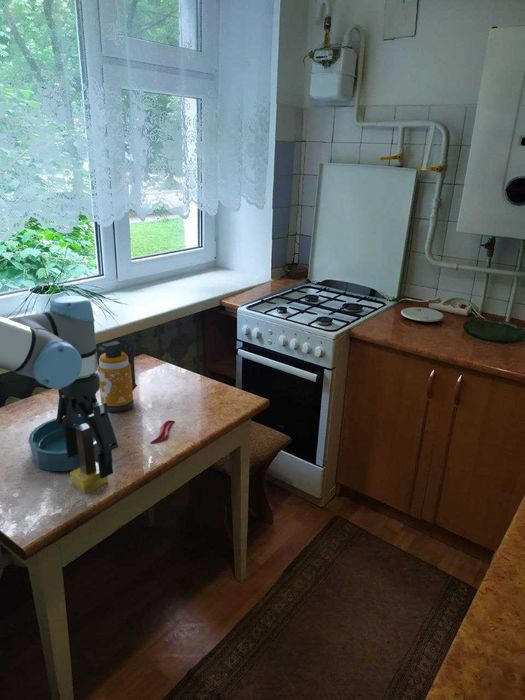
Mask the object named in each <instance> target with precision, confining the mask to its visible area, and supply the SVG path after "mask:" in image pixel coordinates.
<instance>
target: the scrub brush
mask: <svg viewBox="0 0 525 700" xmlns="http://www.w3.org/2000/svg"><path fill="white" fill-rule="evenodd" d="M75 428H76V437H77V445H78V453H79V461H80V468H78V469H75V470H71V471H70V472H69V475H70V483H71V486H72V487H73V488H74V489H76V490H77V491H79V492H80V493H82V494H83V495H87V494H89V493H90V492H93V491H94V490H96V489H97V488H100V487H102V486H103V485H105V484H107V483H108V482H109V478H108V477H109V475H108V476H107V477H105V478H103V479H102V478H100V474H99V464H98V461H96V462H95V452H94V443H93V434H92V432H91V430H90V427H89V425H88V424H86V423H84V424H82V425H79V426H77V427H75Z"/></svg>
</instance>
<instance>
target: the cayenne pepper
mask: <svg viewBox="0 0 525 700" xmlns="http://www.w3.org/2000/svg"><path fill="white" fill-rule="evenodd" d="M175 423H176V421H175V420H170V419H169V420H166V421H165V422H163V423H162V424H161V425H160V428H159V434H158V436H157V437H156V438H155V439H153V440H152V441H150V444H157V443H161V442H163V441H165V440H167V439H168V438H169V431H170V429H171V427H172V425H173V424H175Z"/></svg>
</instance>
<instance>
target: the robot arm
mask: <svg viewBox="0 0 525 700" xmlns="http://www.w3.org/2000/svg"><path fill="white" fill-rule="evenodd" d="M49 306H50V307H49V311H44V312H40V313H34V314H28V315H22V316H17V317H11V318H5V317H3V316H0V369H2V370H5V371H9V372H11V373H15V374H18V375H21V376H25V377H29V378H32V379H34V380H35V381H36V382H37V383H39V384H40V385H43V386H45V387H47V388H50V389H55V390H56V389H57V390H58V404H57V413H56V418H57V420H56V421H57V424H58V425H59V424H61V427H62V429H63V430H64V435H65V442H66V450H67V457H69V458H70V457H72V456H75V455H77V454H79V453H78V445H77V437H76V428H75V427H72V426H74V425H77V424H76V420H77V418H78V415H81V416H82V418H83V420H84V422H86V423H88V425H89V427H90V430H91V432H92V434H93V436H94V438H95V441H96V443H97V445H98V447H99V450H97V455H98V461H97V463H98V464H99V474H100V478H102V479H103V478H105V477H107V476H108V477H109V476H110V475H112V474H113V473H114V469H113V454H112V452H113V451H114V450H116V449H118V448H119V444H118V441H117V438H116V434H115V431H114V427H113V425H112V422H111V419H110V418H111V417H110V416H109V411H108V409H107V404H106V403H105V402H104V403H101V402H99V401H98V399H97V395H96V394H97V393H98V391H100V380H99V372H98V366H99V364H98V363H99V361H98V352H97V344H96V330H95V316H94V311H93V307H92V302H91V300H90V299H89V298H87V297H85V296H82V295H64V296H59V297H55V298H53V299H51V301H50V304H49ZM64 416H65V417H64ZM88 416H91V417H88Z"/></svg>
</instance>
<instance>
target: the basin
mask: <svg viewBox="0 0 525 700" xmlns="http://www.w3.org/2000/svg"><path fill="white" fill-rule="evenodd" d="M91 416H92V415H89V416H88V417H91ZM63 417H65V416H63ZM56 420H57V417H56V418H51V419H50V420H47V421H45V422H43V423H41V424H39V425H38V426H37V427H35V428H34V429H33V431H32V432H31V433H30V434H29V437H28V441H27V442H28V447H29V453H30V459H31V461H32V463H33V464H34V465H35V466H36V467H38V468H39V469H43V470H47V471H52V472H53V471H54V472H66V471H74V470H76V469H78V468H80V461H79V454H77V455H75V456H72V457H70V458H69V457H67V450H66V442H65V435H64V430H63V429H62V427H61V424H59V425H58V424H57V421H56ZM84 423H86V422H84V420H83V418H82V416H81V415H80V414H79V415H78V418H77V420H76V424H77V425H74V426H72V427H77V426H79V425H82V424H84ZM86 424H88V423H86ZM93 443H94V452H95V462H98V455H97V450H99V447H98V445H97V443H96V441H95V438H94V436H93Z"/></svg>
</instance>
